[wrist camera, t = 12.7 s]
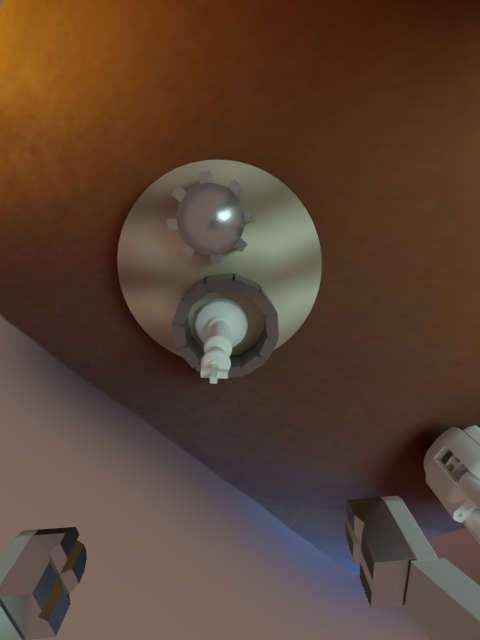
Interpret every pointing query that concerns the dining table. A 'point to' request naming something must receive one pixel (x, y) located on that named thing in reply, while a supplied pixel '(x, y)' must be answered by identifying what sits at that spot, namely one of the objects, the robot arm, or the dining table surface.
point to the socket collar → (238, 362)
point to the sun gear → (210, 218)
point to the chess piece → (219, 335)
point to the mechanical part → (457, 474)
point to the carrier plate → (252, 263)
